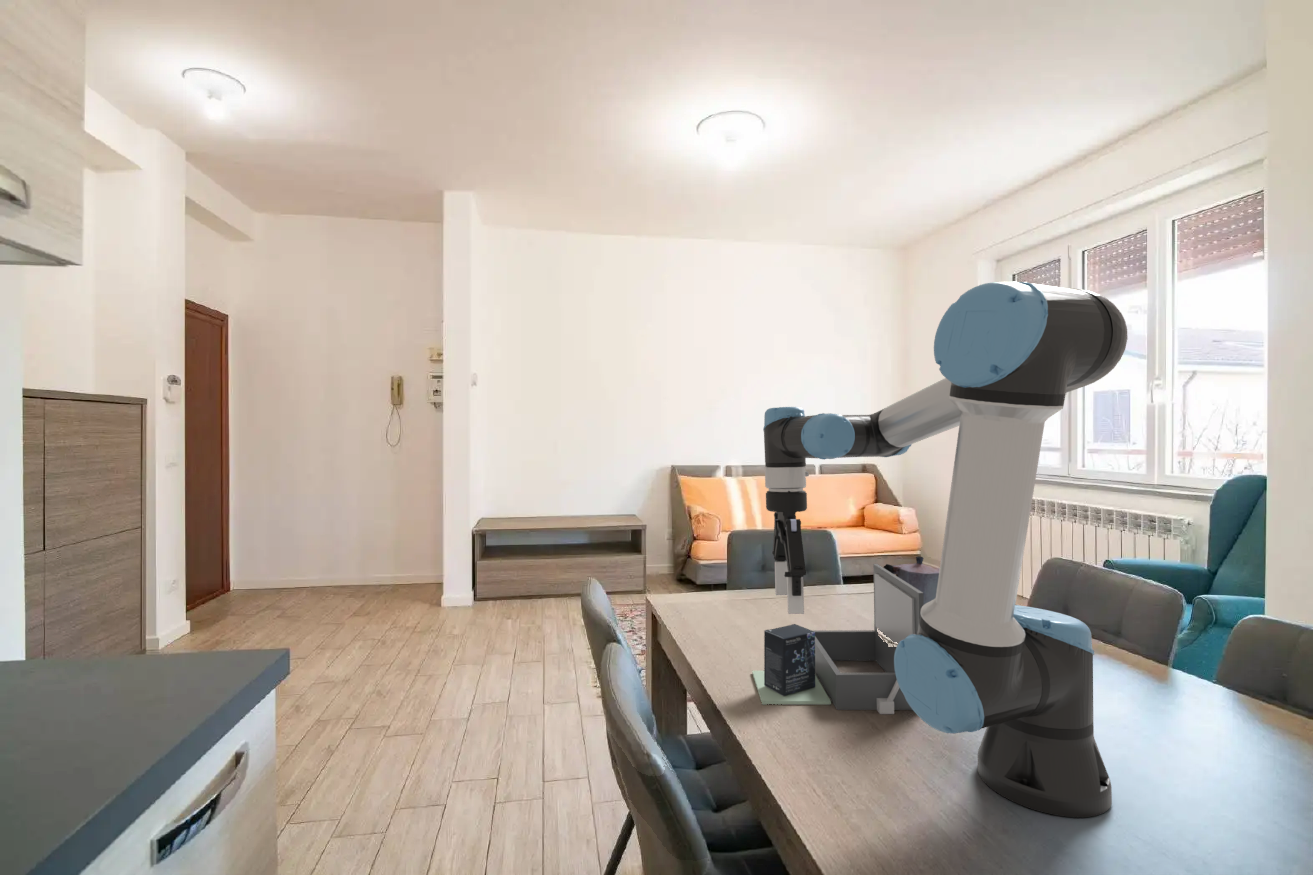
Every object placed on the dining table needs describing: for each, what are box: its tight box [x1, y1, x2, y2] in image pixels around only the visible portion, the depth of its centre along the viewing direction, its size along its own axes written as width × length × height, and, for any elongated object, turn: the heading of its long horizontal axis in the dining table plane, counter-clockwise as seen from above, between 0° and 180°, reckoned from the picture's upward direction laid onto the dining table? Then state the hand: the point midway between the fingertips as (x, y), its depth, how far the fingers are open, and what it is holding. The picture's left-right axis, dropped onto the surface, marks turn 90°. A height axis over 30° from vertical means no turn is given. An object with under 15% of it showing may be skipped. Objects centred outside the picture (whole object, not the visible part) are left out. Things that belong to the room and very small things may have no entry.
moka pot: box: [883, 555, 940, 604], centre depth 135 cm, size 10×15×20 cm, turn 89°
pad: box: [751, 670, 832, 706], centre depth 113 cm, size 14×12×1 cm
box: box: [763, 623, 816, 696], centre depth 112 cm, size 8×6×11 cm
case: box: [813, 563, 924, 715], centre depth 115 cm, size 26×16×20 cm, turn 178°
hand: (788, 603), depth 113 cm, fingers open, 13 cm apart
